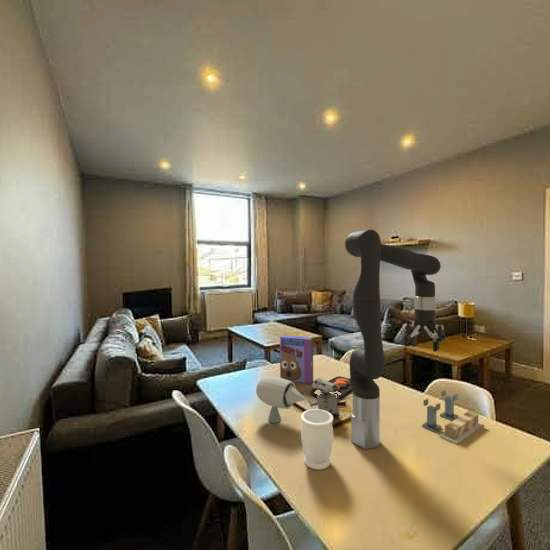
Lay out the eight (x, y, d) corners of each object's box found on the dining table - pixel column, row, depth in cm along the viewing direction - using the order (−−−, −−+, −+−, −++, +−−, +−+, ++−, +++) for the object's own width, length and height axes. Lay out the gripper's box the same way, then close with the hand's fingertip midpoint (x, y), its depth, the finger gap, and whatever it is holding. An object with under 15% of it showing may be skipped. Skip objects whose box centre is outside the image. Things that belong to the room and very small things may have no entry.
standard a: (435, 432, 116) (435, 406, 116) (421, 426, 120) (421, 401, 120) (441, 428, 119) (442, 402, 119) (428, 422, 123) (428, 397, 123)
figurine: (324, 408, 137) (324, 374, 136) (342, 419, 127) (342, 383, 126) (307, 413, 132) (307, 378, 131) (325, 425, 122) (324, 388, 122)
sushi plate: (337, 378, 173) (337, 372, 172) (391, 393, 153) (391, 385, 153) (307, 395, 151) (307, 388, 151) (366, 415, 131) (366, 406, 131)
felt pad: (456, 444, 108) (456, 442, 108) (439, 436, 113) (439, 435, 113) (483, 424, 121) (483, 423, 121) (466, 418, 126) (466, 417, 126)
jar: (333, 474, 93) (333, 426, 93) (299, 470, 96) (298, 422, 95) (333, 453, 104) (333, 409, 103) (303, 450, 106) (302, 407, 105)
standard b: (453, 421, 124) (453, 396, 124) (439, 416, 128) (439, 392, 128) (458, 417, 127) (459, 393, 127) (445, 412, 131) (445, 389, 131)
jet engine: (272, 438, 113) (272, 391, 113) (252, 414, 131) (252, 374, 131) (307, 428, 120) (307, 384, 119) (283, 407, 138) (283, 368, 137)
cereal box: (280, 379, 171) (279, 336, 170) (283, 376, 175) (283, 334, 174) (310, 384, 164) (310, 339, 163) (313, 381, 168) (312, 337, 168)
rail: (455, 439, 110) (455, 429, 110) (444, 435, 113) (444, 425, 113) (478, 423, 121) (478, 414, 121) (468, 419, 124) (468, 410, 124)
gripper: (402, 306, 124) (402, 346, 125) (438, 310, 112) (438, 354, 113) (413, 305, 128) (412, 343, 129) (448, 309, 117) (448, 351, 117)
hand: (424, 349), depth 121 cm, fingers open, 8 cm apart
